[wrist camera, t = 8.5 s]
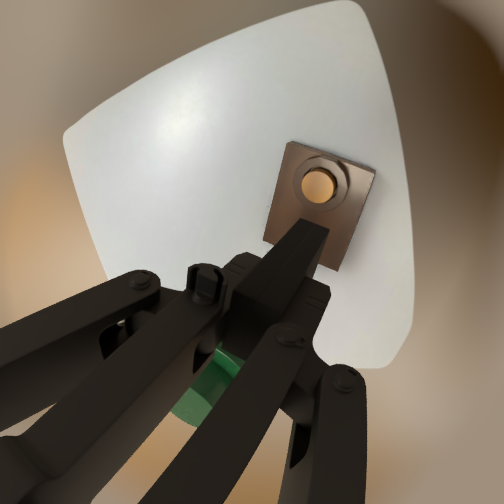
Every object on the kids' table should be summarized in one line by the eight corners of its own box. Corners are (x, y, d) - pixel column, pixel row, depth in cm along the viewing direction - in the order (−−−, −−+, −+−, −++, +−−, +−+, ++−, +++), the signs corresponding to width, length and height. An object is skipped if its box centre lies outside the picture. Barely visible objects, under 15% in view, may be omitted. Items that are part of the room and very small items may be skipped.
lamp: (338, 239, 39) (249, 407, 17) (317, 293, 44) (228, 453, 22) (275, 214, 42) (133, 339, 20) (261, 268, 46) (142, 401, 24)
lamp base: (375, 170, 37) (374, 176, 34) (340, 264, 45) (335, 277, 42) (291, 141, 40) (282, 143, 37) (267, 234, 48) (257, 245, 45)
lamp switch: (340, 175, 36) (337, 177, 35) (330, 204, 38) (327, 208, 37) (309, 164, 37) (306, 166, 36) (301, 193, 39) (297, 196, 38)
